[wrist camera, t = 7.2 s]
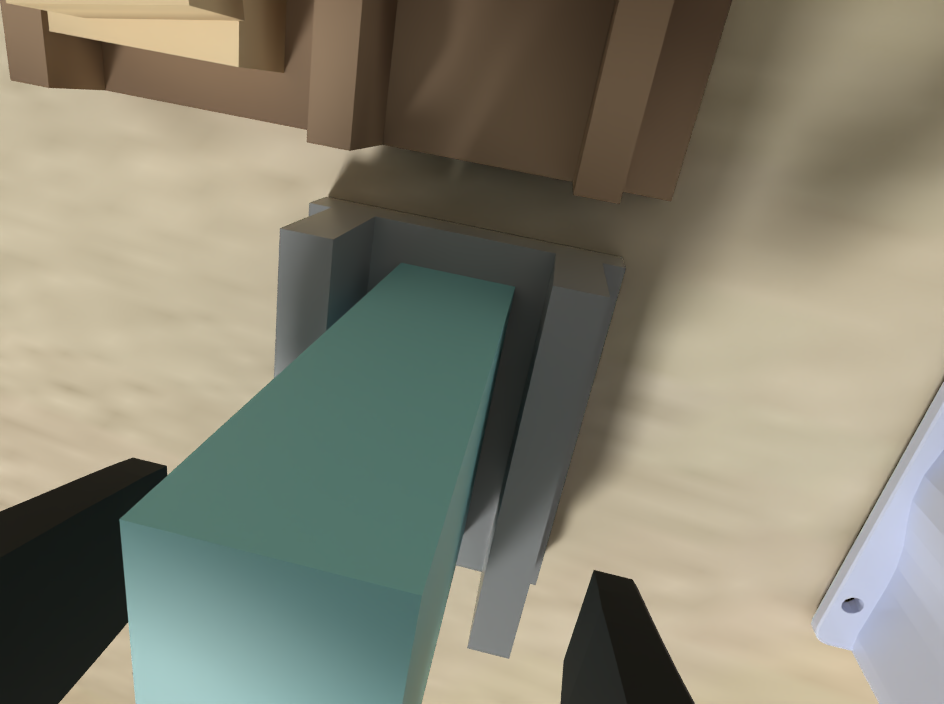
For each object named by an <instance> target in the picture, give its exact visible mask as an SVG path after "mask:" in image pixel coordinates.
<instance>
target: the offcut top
mask: <svg viewBox="0 0 944 704" xmlns="http://www.w3.org/2000/svg"><path fill="white" fill-rule="evenodd" d="M6 3H8V4H14V5H19V6H24V7H29V8H35V9H40V10H45V11H50V12H56V13H61V14H66V15H71V16H77V17H82V18H104V19H165V20H225V21H245V19H244V9H243V0H6Z"/></svg>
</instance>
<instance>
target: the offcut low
mask: <svg viewBox="0 0 944 704" xmlns="http://www.w3.org/2000/svg"><path fill="white" fill-rule="evenodd" d="M286 5H287V0H243V9H244V19H245V21H225V20H165V19H104V18H82V17H77V16H71V15H66V14H61V13H56V12H50V11H47V13H48V22H49V31H51V32H56V33H62V34H67V35H72V36H77V37H83V38H88V39H93V40H98V41H104V42H109V43H114V44H119V45H125V46H130V47H135V48H141V49H146V50H151V51H156V52H162V53H167V54H172V55H177V56H183V57H188V58H193V59H198V60H204V61H209V62H214V63H219V64H225V65H230V66H235V67H241V68H249V69H257V70H265V71H272V72H280V73H284V58H285V31H286Z"/></svg>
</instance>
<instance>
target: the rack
mask: <svg viewBox="0 0 944 704" xmlns="http://www.w3.org/2000/svg"><path fill="white" fill-rule="evenodd" d="M731 2H732V0H287V5H286V31H285V58H284V73H280V72H272V71H265V70H257V69H249V68H241V67H235V66H230V65H225V64H219V63H214V62H209V61H204V60H198V59H193V58H188V57H183V56H177V55H172V54H167V53H162V52H156V51H151V50H146V49H141V48H135V47H130V46H125V45H119V44H114V43H109V42H104V41H98V40H93V39H88V38H83V37H77V36H72V35H67V34H62V33H56V32H51V31H49V22H48V13H47V11H45V10H40V9H35V8H29V7H24V6H19V5H14V4H8V3H6V0H0V3H1V11H2V18H3V26H4V33H5V41H6V49H7V56H8V64H9V71H10V79H11V80H12V81H17V82H22V83H27V84H32V85H38V86H43V87H48V88H66V89H90V90H107V91H112V92H117V93H122V94H127V95H132V96H137V97H143V98H148V99H153V100H158V101H163V102H168V103H173V104H178V105H183V106H188V107H193V108H199V109H204V110H209V111H214V112H219V113H224V114H229V115H234V116H239V117H244V118H250V119H255V120H260V121H265V122H270V123H275V124H280V125H285V126H290V127H295V128H300V129H306V130H307V142H308V143H313V144H318V145H323V146H329V147H334V148H339V149H344V150H349V151H351V150H357V149H362V148H367V147H373V146H378V145H387V146H392V147H397V148H402V149H407V150H412V151H418V152H423V153H428V154H433V155H438V156H443V157H448V158H453V159H458V160H463V161H469V162H474V163H479V164H484V165H489V166H494V167H499V168H504V169H509V170H514V171H519V172H525V173H530V174H535V175H540V176H545V177H550V178H555V179H560V180H565V181H570V182H573V195H576V196H581V197H586V198H591V199H596V200H601V201H606V202H611V203H617V204H620V201H621V197H622V193H623V192H626V193H632V194H637V195H642V196H647V197H652V198H657V199H662V200H667V201H671V200H672V197H673V194H674V190H675V187H676V184H677V180H678V177H679V174H680V171H681V167H682V164H683V161H684V157H685V154H686V151H687V147H688V144H689V141H690V138H691V134H692V131H693V128H694V124H695V121H696V118H697V114H698V111H699V108H700V104H701V101H702V98H703V95H704V91H705V88H706V85H707V81H708V78H709V75H710V71H711V68H712V65H713V62H714V58H715V55H716V52H717V48H718V45H719V42H720V38H721V35H722V32H723V29H724V25H725V22H726V19H727V15H728V12H729V9H730V5H731Z"/></svg>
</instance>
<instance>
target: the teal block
mask: <svg viewBox="0 0 944 704" xmlns="http://www.w3.org/2000/svg"><path fill="white" fill-rule="evenodd" d="M514 291H515V287H514V286H509V285H505V284H500V283H495V282H490V281H486V280H481V279H476V278H471V277H467V276H462V275H457V274H453V273H448V272H443V271H438V270H434V269H429V268H424V267H419V266H415V265H410V264H405V263H400V264H399V265H398V266H397V267H396V268H395V269H394V270H393V271H392V272H390V273H389V274H388V275H387V276H386V277H385V278H384V279H383V280H382V281H381V282H379V283H378V284H377V285H376V286H375V287H374V288H373V289H372V290H371V291H370V292H368V293H367V294H366V295H365V296H364V297H363V298H362V299H361V300H360V301H359V302H357V303H356V304H355V305H354V306H353V307H352V308H351V309H350V310H349V311H348V312H347V313H345V314H344V315H343V316H342V317H341V318H340V319H339V320H338V321H337V322H336V323H334V324H333V325H332V326H331V327H330V328H329V329H328V330H327V331H326V332H325V333H323V334H322V335H321V336H320V337H319V338H318V339H317V340H316V341H315V342H314V343H312V344H311V345H310V346H309V347H308V348H307V349H306V350H305V351H304V352H303V353H301V354H300V355H299V356H298V357H297V358H296V359H295V360H294V361H293V362H292V363H290V364H289V365H288V366H287V367H286V368H285V369H284V370H283V371H282V372H281V373H280V374H278V375H277V376H276V377H275V378H274V379H273V380H272V381H271V382H270V383H269V384H267V385H266V386H265V387H264V388H263V389H262V390H261V391H260V392H259V393H258V394H256V395H255V396H254V397H253V398H252V399H251V400H250V401H249V402H248V403H247V404H245V405H244V406H243V407H242V408H241V409H240V410H239V411H238V412H237V413H236V414H234V415H233V416H232V417H231V418H230V419H229V420H228V421H227V422H226V423H225V424H224V425H222V426H221V427H220V428H219V429H218V430H217V431H216V432H215V433H214V434H213V435H211V436H210V437H209V438H208V439H207V440H206V441H205V442H204V443H203V444H202V445H200V446H199V447H198V448H197V449H196V450H195V451H194V452H193V453H192V454H191V455H189V456H188V457H187V458H186V459H185V460H184V461H183V462H182V463H181V464H180V465H178V466H177V467H176V468H175V469H174V470H173V471H172V472H171V473H170V474H169V475H167V476H166V477H165V478H164V479H163V480H162V481H161V482H160V483H159V484H158V485H157V486H155V487H154V488H153V489H152V490H151V491H150V492H149V493H148V494H147V495H146V496H144V497H143V498H142V499H141V500H140V501H139V502H138V503H137V504H136V505H135V506H133V507H132V508H131V509H130V510H129V511H128V512H127V513H126V514H125V515H124V516H122V517H121V518H120V519H119V521H120V532H121V543H122V554H123V566H124V577H125V588H126V600H127V611H128V622H129V633H130V645H131V656H132V667H133V679H134V690H135V701H136V704H421V703H422V699H423V695H424V691H425V687H426V683H427V679H428V675H429V671H430V667H431V663H432V659H433V655H434V651H435V647H436V643H437V639H438V635H439V631H440V627H441V623H442V619H443V615H444V611H445V607H446V603H447V599H448V594H449V590H450V586H451V582H452V578H453V574H454V570H455V566H456V562H457V558H458V554H459V550H460V546H461V542H462V538H463V534H464V529H465V524H466V520H467V515H468V510H469V505H470V501H471V496H472V491H473V486H474V482H475V477H476V472H477V467H478V463H479V458H480V453H481V448H482V443H483V439H484V434H485V429H486V424H487V420H488V415H489V410H490V405H491V401H492V396H493V391H494V386H495V381H496V377H497V372H498V367H499V362H500V358H501V353H502V348H503V343H504V339H505V334H506V329H507V324H508V320H509V315H510V310H511V305H512V300H513V296H514Z"/></svg>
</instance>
